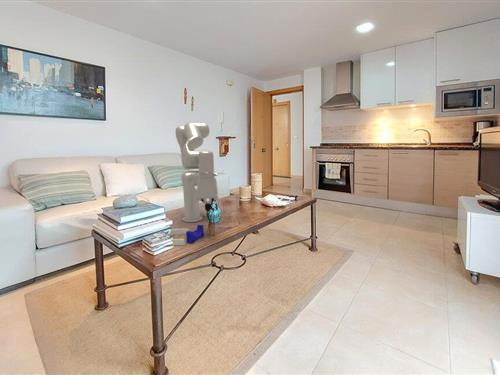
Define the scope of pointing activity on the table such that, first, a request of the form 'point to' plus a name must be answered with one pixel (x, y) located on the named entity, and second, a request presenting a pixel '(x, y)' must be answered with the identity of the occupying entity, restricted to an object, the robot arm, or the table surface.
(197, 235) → the cable clip
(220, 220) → the table surface
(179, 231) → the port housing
